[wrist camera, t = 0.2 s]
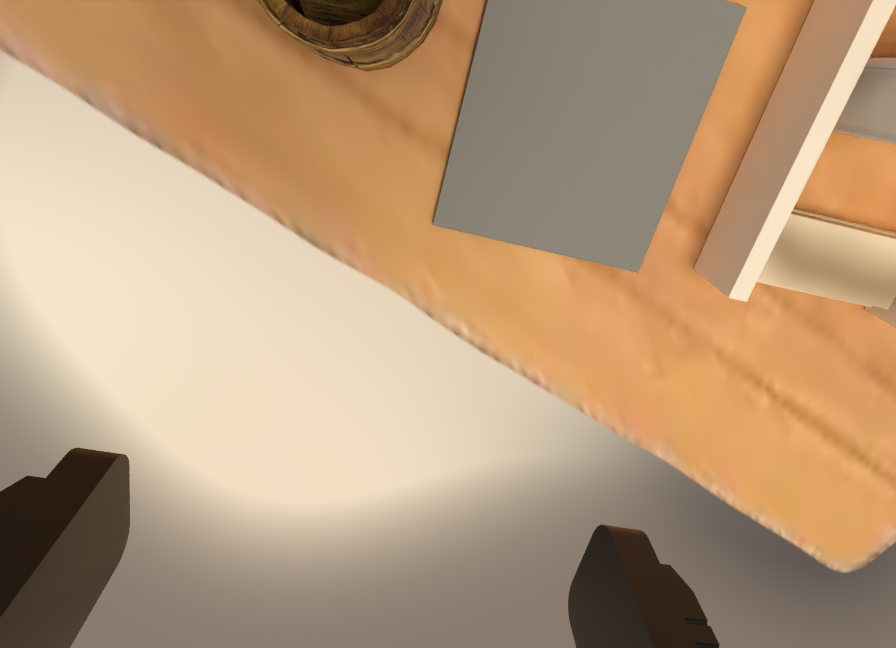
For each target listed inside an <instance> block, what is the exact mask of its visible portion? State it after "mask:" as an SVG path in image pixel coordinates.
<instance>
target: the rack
mask: <svg viewBox="0 0 896 648" xmlns="http://www.w3.org/2000/svg"><path fill="white" fill-rule="evenodd" d="M895 5H896V0H814V2H813V4H812V6H811V9H810V11H809V13H808V15H807V18H806V20H805V22H804V24H803V26H802V29H801V31H800V33H799V35H798V38H797V40H796V42H795V44H794V46H793V49H792V51H791V53H790V55H789V58H788V60H787V62H786V64H785V66H784V69H783V71H782V73H781V75H780V78H779V80H778V82H777V84H776V86H775V89H774V91H773V93H772V95H771V98H770V100H769V102H768V104H767V106H766V109H765V111H764V113H763V115H762V118H761V120H760V122H759V124H758V126H757V129H756V131H755V133H754V135H753V138H752V140H751V142H750V144H749V146H748V149H747V151H746V153H745V155H744V158H743V160H742V162H741V164H740V166H739V169H738V171H737V173H736V175H735V178H734V180H733V182H732V184H731V186H730V189H729V191H728V193H727V195H726V198H725V200H724V202H723V204H722V206H721V209H720V211H719V213H718V215H717V218H716V220H715V222H714V224H713V226H712V229H711V231H710V233H709V235H708V238H707V240H706V242H705V244H704V246H703V249H702V251H701V253H700V255H699V258H698V260H697V262H696V264H695V266H694V269H695V270H696V271H697V272H698V273H699V274H701V275H702V276H703V277H704V278H705V279H707V280H708V281H709V282H710V283H711V284H713V285H714V286H715V287H716V288H717V289H719V290H720V291H721V292H722V293H723V294H725V295H726V296H727V297H728V298H732V299H737V300H741V301H745V302H747V300H748V298H749V296H750V294H751V292H752V290H753V288H754V286H755V284H756V282H757V280H758V278H759V276H760V274H761V272H762V270H763V268H764V266H765V264H766V262H767V260H768V258H769V256H770V254H771V252H772V250H773V248H774V246H775V244H776V242H777V240H778V238H779V236H780V234H781V232H782V230H783V228H784V226H785V224H786V222H787V220H788V218H789V216H790V214H791V212H792V210H793V208H794V206H795V204H796V202H797V200H798V198H799V196H800V194H801V192H802V190H803V188H804V186H805V184H806V182H807V180H808V178H809V176H810V174H811V172H812V170H813V168H814V166H815V164H816V162H817V161H818V159H819V157H820V155H821V153H822V151H823V149H824V147H825V145H826V143H827V141H828V139H829V137H830V135H831V133H832V131H833V129H834V127H835V125H836V123H837V121H838V119H839V117H840V115H841V113H842V111H843V109H844V107H845V105H846V103H847V101H848V99H849V97H850V95H851V93H852V91H853V89H854V87H855V85H856V83H857V81H858V79H859V77H860V75H861V73H862V71H863V69H864V67H865V65H866V63H867V61H868V59H869V57H870V55H871V53H872V51H873V49H874V47H875V45H876V43H877V41H878V39H879V37H880V35H881V33H882V31H883V29H884V27H885V25H886V23H887V21H888V19H889V17H890V15H891V13H892V11H893V9H894V7H895ZM865 310H867V311H868V312H870V313H872V314H873V315H875V316H877V317H878V318H880V319H882V320H883V321H885V322H887V323H888V324H890V325H892V326H893V327H895V328H896V297H895V299H894V300H893V302H892V304H891V305H890V307H889V309H885V308H880V307H876V306H872V307H867V306H866V307H865Z"/></svg>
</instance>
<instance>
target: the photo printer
mask: <svg viewBox="0 0 896 648" xmlns="http://www.w3.org/2000/svg"><path fill="white" fill-rule="evenodd" d="M833 132H838V133H843V134H848V135H853V136H857V137H862V138H867V139H872V140H877V141H882V142H887V143H891V144H896V58H869V59H868V61H867V63H866V65H865V67H864V69H863V71H862V73H861V75H860V77H859V79H858V81H857V83H856V85H855V87H854V89H853V91H852V93H851V95H850V97H849V99H848V101H847V103H846V105H845V107H844V109H843V111H842V113H841V115H840V117H839V119H838V121H837V123H836V125H835V127H834V129H833Z"/></svg>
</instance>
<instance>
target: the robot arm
mask: <svg viewBox="0 0 896 648" xmlns="http://www.w3.org/2000/svg"><path fill="white" fill-rule="evenodd" d="M129 527H130V491H129V460H128V457H127V456H126V455H124V454H116V453H110V452H103V451H95V450H88V449H82V448H74V449H72V450H71V451H69V452H68V453H67V454H66V455H65V457H63V459H62V460H61V461H60V462H59V463H58V465H57V466H56V467H55V468H54V469H53V470H52V472H51V473H50V474H49V475H48V476H47V477H46V478H40V477H33V476H26V477H24V478H23V479H21V480H19V481H18V482H16V483H14V484H13V485H11V486H9V487H7V488H6V489H4V490H2V491H1V492H0V648H70V646H71V645H72V643H73V641H74V639H75V638H76V636H77V634H78V633H79V631H80V629H81V628H82V626H83V624H84V622H85V621H86V619H87V617H88V615H89V614H90V612H91V610H92V608H93V607H94V605H95V603H96V602H97V600H98V598H99V596H100V595H101V593H102V591H103V590H104V588H105V586H106V584H107V583H108V581H109V579H110V578H111V576H112V574H113V572H114V571H115V569H116V567H117V565H118V563H119V561H120V559H121V557H122V554H123V552H124V549H125V546H126V542H127V539H128V534H129ZM568 610H569V611H568V612H569V620H570V624H571V628H572V632H573V636H574V640H575V644H576V648H719V643H718V641H717V639H716V637H715V635H714V633H713V631H712V629H711V627H710V626H708V625H707V619H706V616H705V614H704V612H703V610H702V609H701V607H700V604H699V602H698V600H697V598H696V596H695V594H694V592H693V591H692V590H691V588H690V587H689V586H688V585H687V584H686V583H685V582H684V580H683V579H682V578H681V577H680V576H679V575H678V574H677V572H676V571H675V570H674V569H673V568H672V567H671V566H670V565H665V564H660V563H659V560H658V558H657V556H656V554H655V552H654V549H653V547H652V545H651V543H650V541H649V539H648V537H647V535H646V534H645V533H644V532H643V531H641V530H635V529H627V528H621V527H614V526H607V525H600V526H598V527H597V528H596V529H595V531H594V533H593V535H592V537H591V540H590V542H589V544H588V546H587V549H586V551H585V553H584V556H583V558H582V560H581V563H580V565H579V567H578V569H577V572H576V574H575V576H574V579H573V581H572V584H571V587H570V591H569V599H568Z"/></svg>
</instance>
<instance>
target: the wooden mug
mask: <svg viewBox="0 0 896 648" xmlns="http://www.w3.org/2000/svg"><path fill="white" fill-rule="evenodd" d="M442 1H443V0H259V2H260V3H261V5H262V7H263V8H264V10H265V11H266V13H267V14H268V16H269V17H270V19H271V20H272V21H273V22H274V23H276V24H277V25H278V26H279V27H280V28H281V29H282V30H283V31H284V32H285V33H287V34H288V35H290V36H292V37H293V38H295V39H296V40H298V41H300V42H301V43H302V44H303V45H305V46H306V47H308V48H309V49H311V50H312V51H314V52H315V53H317V54H318V55H320V56H321V57H323V58H325V59H328V60H331V61H334V62H336V63H339V64H342V65H345V66H350V67H354V68H358V69H361V70H364V71H372V70H378V69H384V68H390V67H392V66H393V65H395V64H396V63H398V62H400V61H401V60H403V59H404V58H406V57H408V56H409V55H410V54H411V53H412V52H413V51H414V50H415V49H416V48H417V47H419V46H420V45H421V44H422V43H423V42H424V40H425V39H426V37H427V35H428V34H429V32H430V31H431V29H432V27H433V26H434V24H435V22H436V19H437V16H438V13H439V10H440V7H441V4H442Z"/></svg>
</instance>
